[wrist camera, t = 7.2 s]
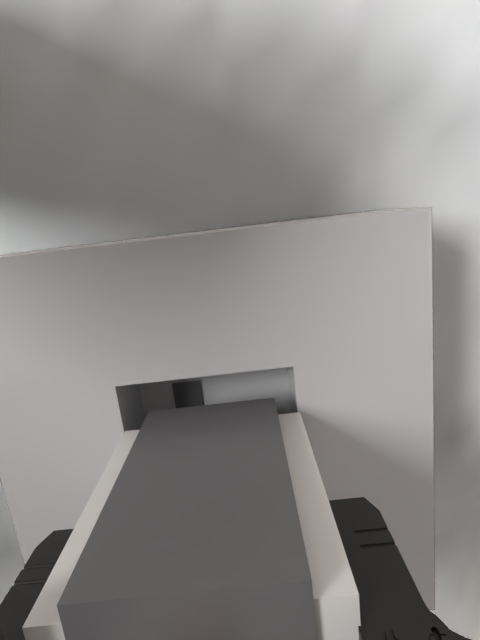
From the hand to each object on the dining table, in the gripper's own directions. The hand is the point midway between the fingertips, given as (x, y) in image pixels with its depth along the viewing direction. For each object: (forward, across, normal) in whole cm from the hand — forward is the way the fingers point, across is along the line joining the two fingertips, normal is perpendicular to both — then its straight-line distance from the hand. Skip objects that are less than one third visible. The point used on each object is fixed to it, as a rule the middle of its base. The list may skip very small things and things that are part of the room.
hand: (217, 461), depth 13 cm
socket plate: (+4, 0, 0) cm, 4 cm away
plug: (0, 0, 0) cm, 0 cm away
